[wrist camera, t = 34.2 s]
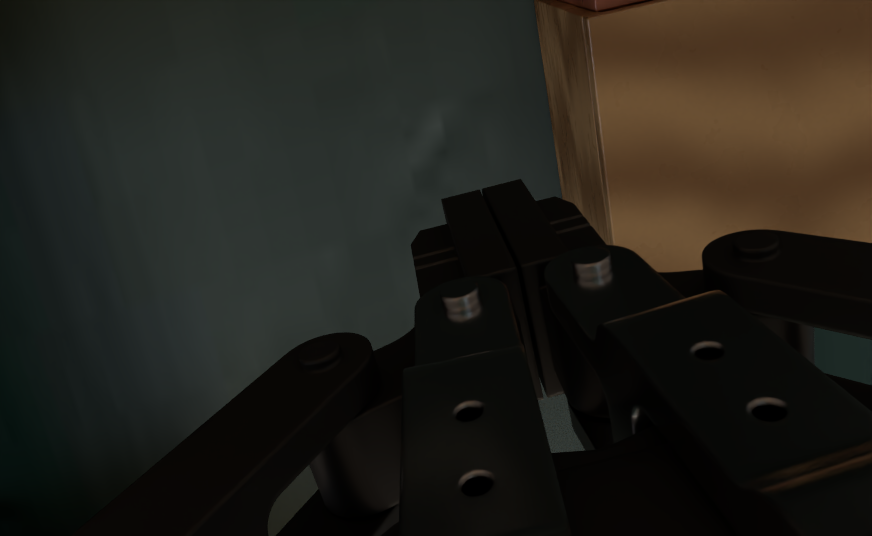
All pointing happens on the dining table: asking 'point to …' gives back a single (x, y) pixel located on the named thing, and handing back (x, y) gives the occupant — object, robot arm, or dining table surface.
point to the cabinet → (711, 120)
